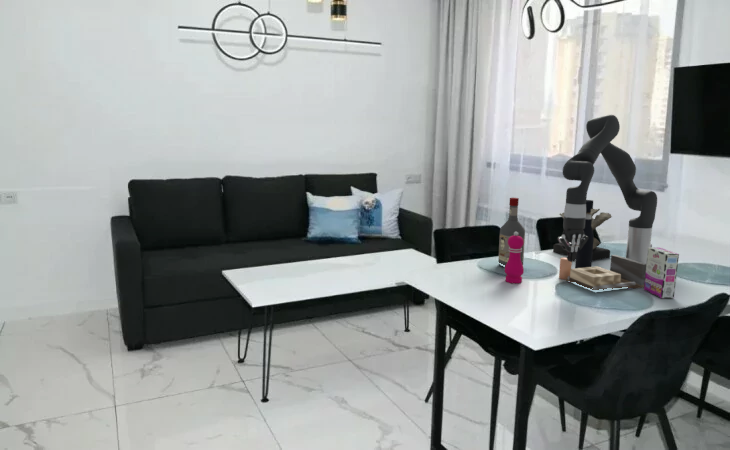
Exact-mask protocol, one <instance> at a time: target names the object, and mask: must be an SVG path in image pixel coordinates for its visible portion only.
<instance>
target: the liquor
mask: <svg viewBox="0 0 730 450" xmlns="http://www.w3.org/2000/svg"><path fill="white" fill-rule="evenodd" d="M518 210H519V198H518V197H510V198H509V212H508V218H507V219H508V220H507V221H506V222H505V223H504V224H502V226H501V227H500V229H499V238H498V239H499V241H498V242H499V244H498V262H499V263H501V264H503V265H505V266H506V264H507V262H508V260H509V255H510V251H509V247H510V246H509V245H508V239H509V237H511V236H513V235H514V232H518V236H520V237H522V238H523V241H524V244H523V246H522V247H521V248H522V252H521V254H520V258H521V262H522V265H523V266H524V260H525V259H524V257H525V256H524V255H525V244H526V243H525V242H526V241H525V239H526V230H525V227H524V226H523V225H522V224H521V222H520V221H519V218H518V216H519V215H518V213H519V211H518Z"/></svg>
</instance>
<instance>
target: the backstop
mask: <svg viewBox="0 0 730 450" xmlns="http://www.w3.org/2000/svg"><path fill="white" fill-rule="evenodd" d="M646 265H647V264H645V263H641V262H638V261H635V260H631V259H628V258H626V256H625V257H624V256H620V255H618V254H610V267H609V271H612V272H615V273H618V274H621V280H620V283H618V284H609V285H600V286H593V289H592V288H590V287H588V286H585V285H582V284H580V283H577V282H576V283H577V284H579V285H582V286H584V287H587V288H590V289H592V290H599V289H603V290H604V289H607V288H612V289H613V288H622V287H628V288H633V289H639V288H640V289H641V288H644V284H645V275H646ZM566 281H570V282H575V281H572V280H570V276H568V279H566V280H565V282H566ZM633 289H632V290H633Z"/></svg>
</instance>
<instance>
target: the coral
mask: <svg viewBox="0 0 730 450" xmlns="http://www.w3.org/2000/svg"><path fill="white" fill-rule="evenodd" d="M599 211H601V210H600V208H597V209H596V208H593V209H591V219H592V224H591V226H592V230H593V231H594V230H595V229H596V228H598V227H601V225H602V224H604V223H605V222H606V221H608V220H609V219H611V218H613V216H612V214H611V213H610V212H600V213H599V214H597V213H598V212H599ZM595 214H596V215H595ZM558 215H559V216H560V217H562V219H564V212H560V213H559V214H558ZM594 215H595V217H594ZM593 217H594V218H593ZM565 240H566V239H565ZM601 243H602V242H600V241H599V240H598V239H597V238H596V237H594V242H593V254H592V262H593V261H599V260H604V259H611V250H610V249H607V248H603V247H599V246H600V244H601ZM574 247H575V246H574ZM552 248H553V249H552V250H553V251H552V252H553V253H557V254H561V255H565V256H567V253H568V251H567V250H564V249H563V248H562V246H561V245H560V243H559V242H558V243H555V244H553V247H552Z"/></svg>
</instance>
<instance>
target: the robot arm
mask: <svg viewBox="0 0 730 450" xmlns="http://www.w3.org/2000/svg"><path fill="white" fill-rule="evenodd" d="M585 129H586V133H587V135H588V137H589V139H588V140H587V141H586V142H585V143H584V144H583V145H581V147H580V149H579V150H578V152H577V153H576V154H575V155H573V156H572V157H570V158H569V159H568V160H567V161H566V162H565V163H564V165H563V168H562V177H564V179H566V180H569V181H577V182H578V181H579V182H580V184H579V185H577V186H569V187H568V188H567V189H566V193H565V203H564V204H565V205H564V210H563V213H564V218H563V224H562V227H563V232H562V234H561V236H558V237H557V238H556V240H557V241H558V243H560V245H561V246H562V248H563V249H564V250H567V251H568V253H567V255H566V258H567V259H568V261H570V262H572V263H573V262H576V252H577V251H578V250H581V249H582V247H583V246H584V245H585V243H586V242H587V240H588V239H589V237H588V236H586V235H584V231H583V229H584V228H585V220H586V200H587V196H588V190H589V187H590V183H591V182H592V180H593V177H594V174H595V166H594V165H595V163H596V162H597V160H598V157H599V156H600V155H601V156H602V158H603V160H604V161H605V163H606V164H607V167H608V169H609V171H610V173H611V174H612V177H614V179H615V181H616V183H617V185H618V187H619V189H620V192H621V194H622V196H623V198H624V201H625V203H626V205H627V207H628V208H629V209H631V210H633V211H638V212H640V214H639V216H638V217H633V218H631V219H629V221H628V228H627V229H628V230H627V240H626V249H625V258H628V259H631V260H635V261H638V262H641V263H645V264H647V255H648V248H653V244H651V243H652V234H653V233H652V232H653V225H654V222H655V220H656V219H655V218H656V213H657V207H658V195H657V193H656V192H655V191H652V190H646V189H640V188H638V187H637V186H636V184H635V183H634V179H635V176H636V172H637V166H636V164H635V162H634V161H633V158H632V157H631V155H630V154H629V153H628V152H627V151H625V150H624V149H622V148H621V147H618V146H616V145H614V144H613V143H611V142H612V141H613V140H614V139H615V138H616V137H617V136H618V134H619V133H620V121H619V118H618V117H617V116H616V115H615V114H605V115H602V116H598V117H594V118H591V119H589V120H588V121H587V122H586V125H585ZM565 239H566V240H565ZM579 245H580V246H579ZM574 246H575V247H574Z"/></svg>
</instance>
